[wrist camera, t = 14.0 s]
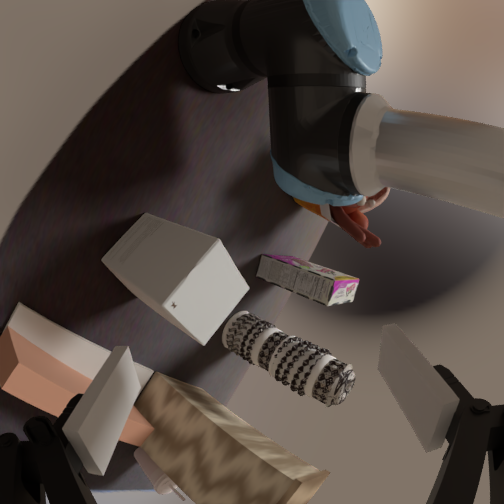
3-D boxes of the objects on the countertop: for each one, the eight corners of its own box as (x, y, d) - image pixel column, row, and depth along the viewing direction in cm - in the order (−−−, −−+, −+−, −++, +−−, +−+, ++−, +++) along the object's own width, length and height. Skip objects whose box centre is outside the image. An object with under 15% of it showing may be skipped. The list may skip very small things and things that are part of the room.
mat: (18, 301, 31) (19, 303, 30) (152, 369, 49) (154, 371, 49) (-18, 375, 28) (-17, 378, 27) (117, 422, 46) (119, 425, 46)
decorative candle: (232, 304, 60) (351, 365, 44) (259, 312, 67) (366, 364, 52) (213, 348, 59) (324, 417, 44) (241, 351, 67) (343, 410, 51)
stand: (155, 368, 50) (302, 482, 31) (205, 387, 61) (330, 472, 42) (118, 425, 46) (244, 550, 28) (172, 435, 57) (285, 528, 39)
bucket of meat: (301, 118, 60) (398, 127, 47) (333, 159, 73) (414, 173, 60) (263, 209, 59) (363, 236, 47) (303, 237, 72) (386, 263, 59)
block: (7, 325, 29) (18, 362, 24) (127, 398, 46) (154, 428, 41) (-8, 349, 28) (1, 388, 23) (114, 415, 45) (140, 446, 40)
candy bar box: (292, 254, 70) (360, 278, 60) (286, 276, 71) (353, 302, 61) (260, 251, 62) (336, 279, 52) (254, 277, 63) (327, 308, 52)
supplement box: (137, 299, 44) (203, 350, 35) (98, 259, 38) (159, 307, 29) (178, 253, 48) (252, 289, 38) (146, 209, 41) (221, 237, 32)
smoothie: (134, 440, 50) (181, 490, 41) (159, 441, 55) (205, 485, 46) (123, 462, 49) (166, 512, 40) (147, 462, 54) (190, 507, 45)
